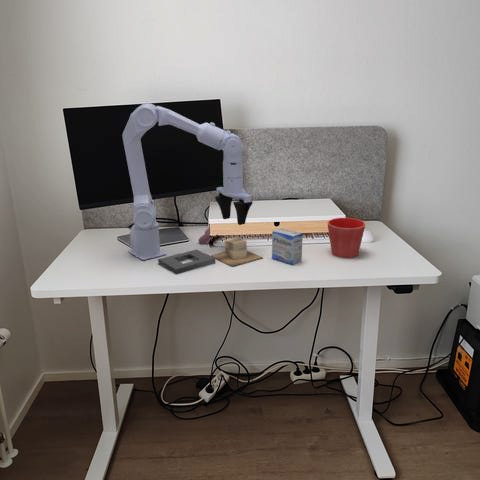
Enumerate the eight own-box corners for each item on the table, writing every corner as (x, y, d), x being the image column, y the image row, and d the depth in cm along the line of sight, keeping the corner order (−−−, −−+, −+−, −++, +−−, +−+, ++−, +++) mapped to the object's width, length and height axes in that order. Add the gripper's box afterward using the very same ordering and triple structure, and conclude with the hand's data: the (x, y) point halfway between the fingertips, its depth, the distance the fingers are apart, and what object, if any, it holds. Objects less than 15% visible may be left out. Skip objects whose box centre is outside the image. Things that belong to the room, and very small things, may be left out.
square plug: (225, 255, 150) (224, 239, 149) (237, 252, 153) (237, 236, 151) (234, 260, 147) (233, 243, 145) (246, 256, 149) (246, 240, 148)
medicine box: (271, 259, 148) (271, 230, 146) (280, 255, 152) (281, 227, 149) (292, 265, 143) (293, 236, 141) (302, 261, 146) (303, 232, 144)
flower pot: (340, 262, 145) (342, 229, 142) (319, 250, 155) (320, 220, 151) (370, 256, 149) (373, 225, 146) (348, 245, 159) (350, 215, 156)
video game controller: (209, 249, 162) (218, 231, 159) (196, 243, 162) (205, 224, 159) (216, 239, 171) (225, 222, 168) (204, 233, 171) (212, 216, 168)
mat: (210, 256, 151) (210, 255, 151) (239, 248, 157) (239, 247, 157) (232, 267, 143) (232, 265, 143) (262, 258, 149) (262, 257, 149)
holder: (158, 264, 146) (158, 259, 145) (196, 254, 153) (196, 249, 153) (176, 274, 138) (176, 269, 138) (215, 263, 146) (215, 258, 145)
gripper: (259, 178, 145) (259, 224, 149) (229, 171, 156) (230, 214, 160) (239, 182, 141) (240, 228, 145) (210, 174, 152) (211, 218, 156)
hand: (233, 221), depth 153 cm, fingers open, 7 cm apart
